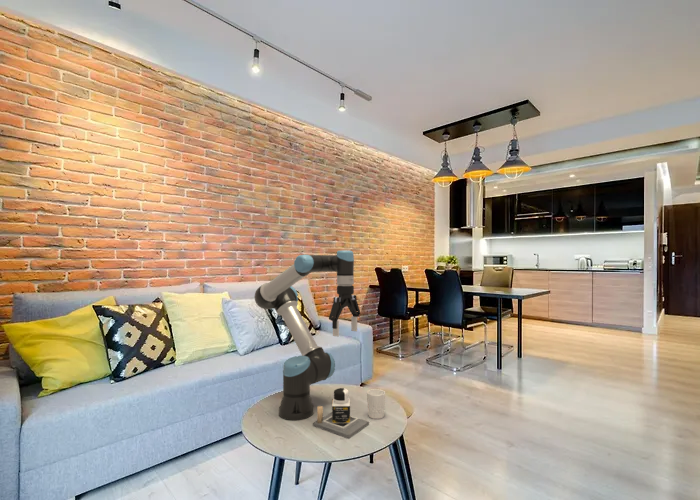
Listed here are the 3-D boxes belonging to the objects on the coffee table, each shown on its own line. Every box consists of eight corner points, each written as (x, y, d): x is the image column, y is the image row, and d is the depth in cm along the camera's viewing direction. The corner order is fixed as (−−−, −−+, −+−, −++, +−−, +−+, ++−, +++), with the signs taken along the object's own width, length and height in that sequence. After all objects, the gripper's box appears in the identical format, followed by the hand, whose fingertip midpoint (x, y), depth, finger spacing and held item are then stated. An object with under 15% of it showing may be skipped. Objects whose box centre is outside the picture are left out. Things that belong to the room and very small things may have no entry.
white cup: (384, 420, 147) (384, 396, 147) (365, 418, 148) (365, 394, 148) (386, 412, 154) (386, 389, 155) (368, 411, 156) (368, 388, 156)
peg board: (312, 425, 142) (312, 407, 142) (334, 413, 153) (334, 396, 153) (348, 438, 131) (348, 419, 132) (368, 424, 143) (368, 406, 143)
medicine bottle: (332, 423, 139) (332, 392, 139) (333, 415, 146) (333, 386, 146) (350, 423, 139) (350, 392, 139) (350, 415, 146) (350, 386, 146)
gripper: (334, 287, 143) (334, 339, 142) (367, 284, 163) (367, 330, 162) (320, 286, 147) (320, 337, 147) (354, 283, 168) (354, 328, 167)
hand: (345, 333), depth 155 cm, fingers open, 13 cm apart
